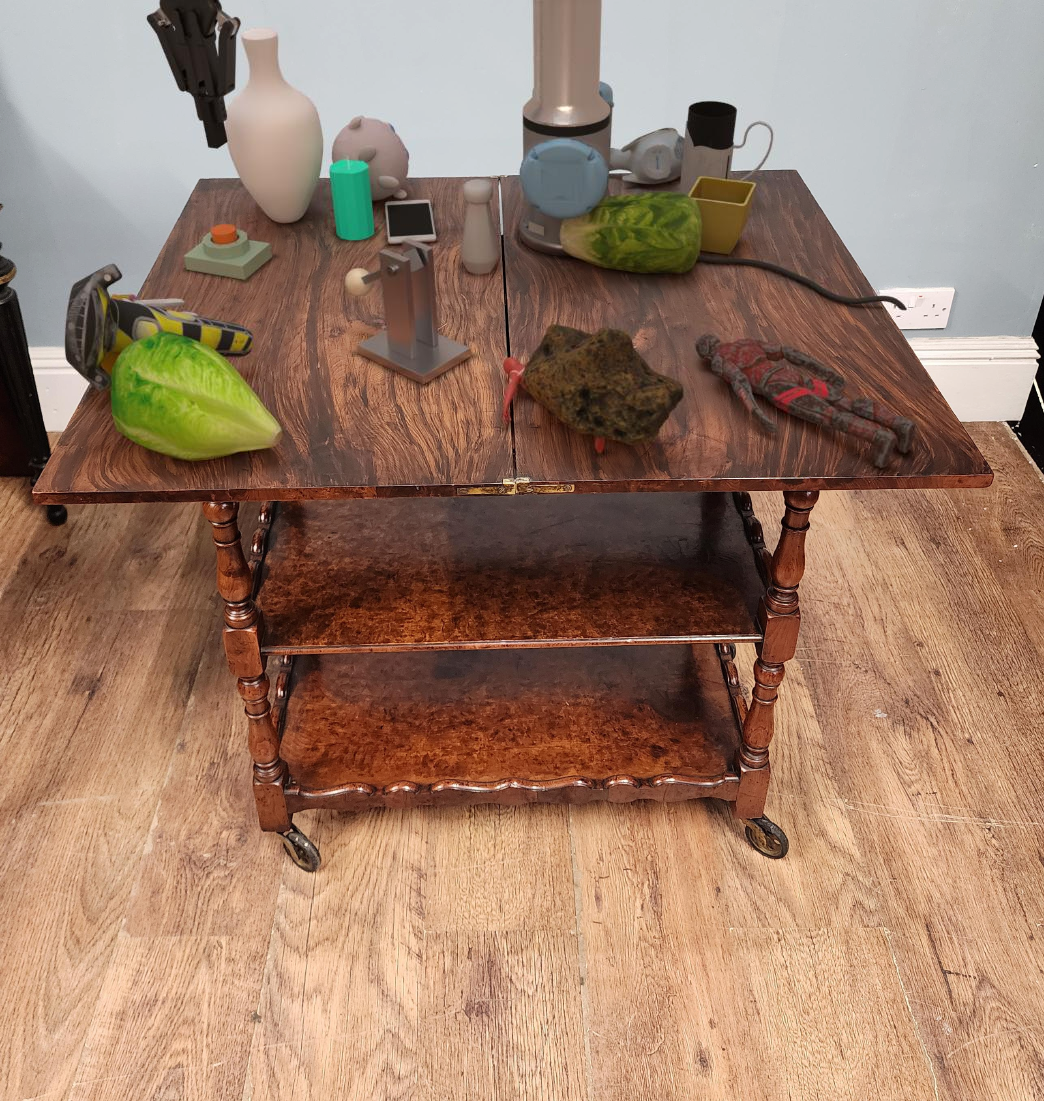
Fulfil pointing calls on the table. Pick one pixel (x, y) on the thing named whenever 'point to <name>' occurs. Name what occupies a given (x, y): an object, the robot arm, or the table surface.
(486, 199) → the salt shaker
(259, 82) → the vase
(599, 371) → the rock
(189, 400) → the lettuce
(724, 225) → the flower pot
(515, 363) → the figurine
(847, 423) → the figurine
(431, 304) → the bracket
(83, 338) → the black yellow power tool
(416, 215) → the smartphone
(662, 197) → the lettuce
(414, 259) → the lever
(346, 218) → the candle
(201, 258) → the button block
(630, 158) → the white rounded ceramic body
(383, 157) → the toy
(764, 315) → the table surface
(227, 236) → the button
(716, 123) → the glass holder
